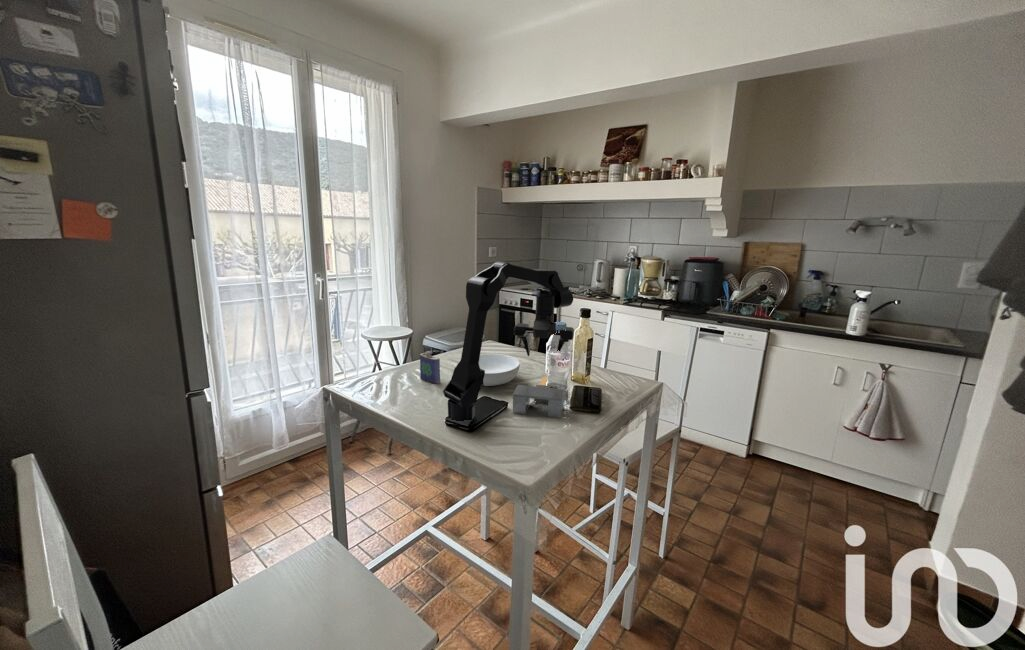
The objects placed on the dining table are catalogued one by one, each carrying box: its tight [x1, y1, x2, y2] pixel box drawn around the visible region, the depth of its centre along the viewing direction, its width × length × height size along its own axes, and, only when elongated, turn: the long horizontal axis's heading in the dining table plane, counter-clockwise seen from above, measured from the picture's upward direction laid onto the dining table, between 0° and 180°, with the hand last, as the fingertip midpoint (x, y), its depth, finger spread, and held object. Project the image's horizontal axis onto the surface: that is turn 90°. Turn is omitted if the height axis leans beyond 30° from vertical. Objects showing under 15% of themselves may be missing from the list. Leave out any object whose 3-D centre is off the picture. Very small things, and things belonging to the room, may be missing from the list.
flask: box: [419, 350, 441, 385], centre depth 139 cm, size 9×3×11 cm, turn 51°
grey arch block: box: [512, 384, 565, 419], centre depth 118 cm, size 14×7×6 cm, turn 78°
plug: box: [533, 375, 552, 404], centre depth 130 cm, size 4×14×4 cm, turn 168°
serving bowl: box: [479, 353, 521, 387], centre depth 140 cm, size 21×21×7 cm
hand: (542, 357), depth 131 cm, fingers open, 9 cm apart
